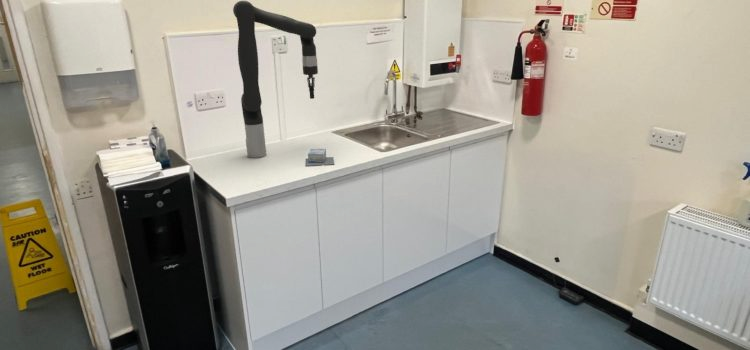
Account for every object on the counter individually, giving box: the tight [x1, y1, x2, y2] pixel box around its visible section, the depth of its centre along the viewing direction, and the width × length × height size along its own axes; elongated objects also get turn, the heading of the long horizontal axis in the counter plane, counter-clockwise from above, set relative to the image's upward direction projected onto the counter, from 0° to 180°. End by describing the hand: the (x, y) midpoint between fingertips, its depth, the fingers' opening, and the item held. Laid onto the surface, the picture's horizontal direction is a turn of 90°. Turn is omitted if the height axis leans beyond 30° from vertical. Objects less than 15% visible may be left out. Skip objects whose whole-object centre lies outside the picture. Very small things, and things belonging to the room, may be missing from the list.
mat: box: [304, 156, 335, 167], centre depth 229 cm, size 14×11×1 cm
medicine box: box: [307, 148, 327, 162], centre depth 231 cm, size 8×4×9 cm
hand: (312, 98), depth 242 cm, fingers closed
